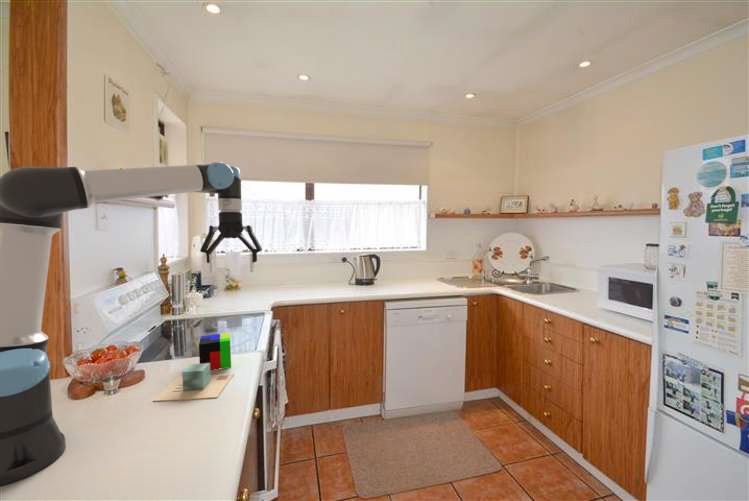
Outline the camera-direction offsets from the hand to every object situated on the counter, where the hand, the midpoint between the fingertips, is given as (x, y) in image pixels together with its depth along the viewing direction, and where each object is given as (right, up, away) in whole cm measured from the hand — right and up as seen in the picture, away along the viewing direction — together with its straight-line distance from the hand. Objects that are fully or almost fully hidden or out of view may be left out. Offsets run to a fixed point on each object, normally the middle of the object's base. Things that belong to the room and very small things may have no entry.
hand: (232, 272), depth 119 cm
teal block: (-6, -35, -12) cm, 38 cm away
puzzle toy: (-8, -35, +5) cm, 36 cm away
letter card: (-6, -36, -12) cm, 38 cm away
